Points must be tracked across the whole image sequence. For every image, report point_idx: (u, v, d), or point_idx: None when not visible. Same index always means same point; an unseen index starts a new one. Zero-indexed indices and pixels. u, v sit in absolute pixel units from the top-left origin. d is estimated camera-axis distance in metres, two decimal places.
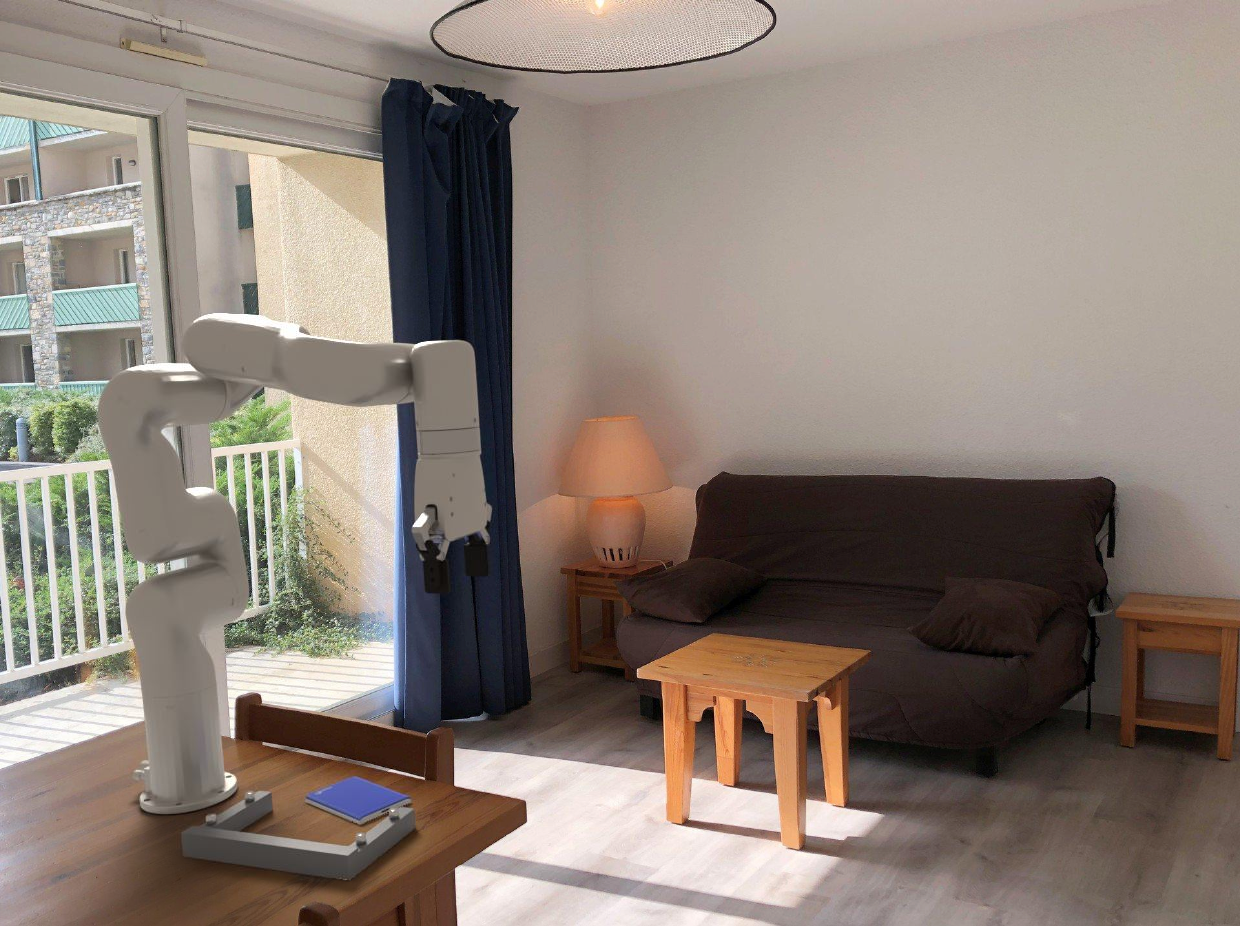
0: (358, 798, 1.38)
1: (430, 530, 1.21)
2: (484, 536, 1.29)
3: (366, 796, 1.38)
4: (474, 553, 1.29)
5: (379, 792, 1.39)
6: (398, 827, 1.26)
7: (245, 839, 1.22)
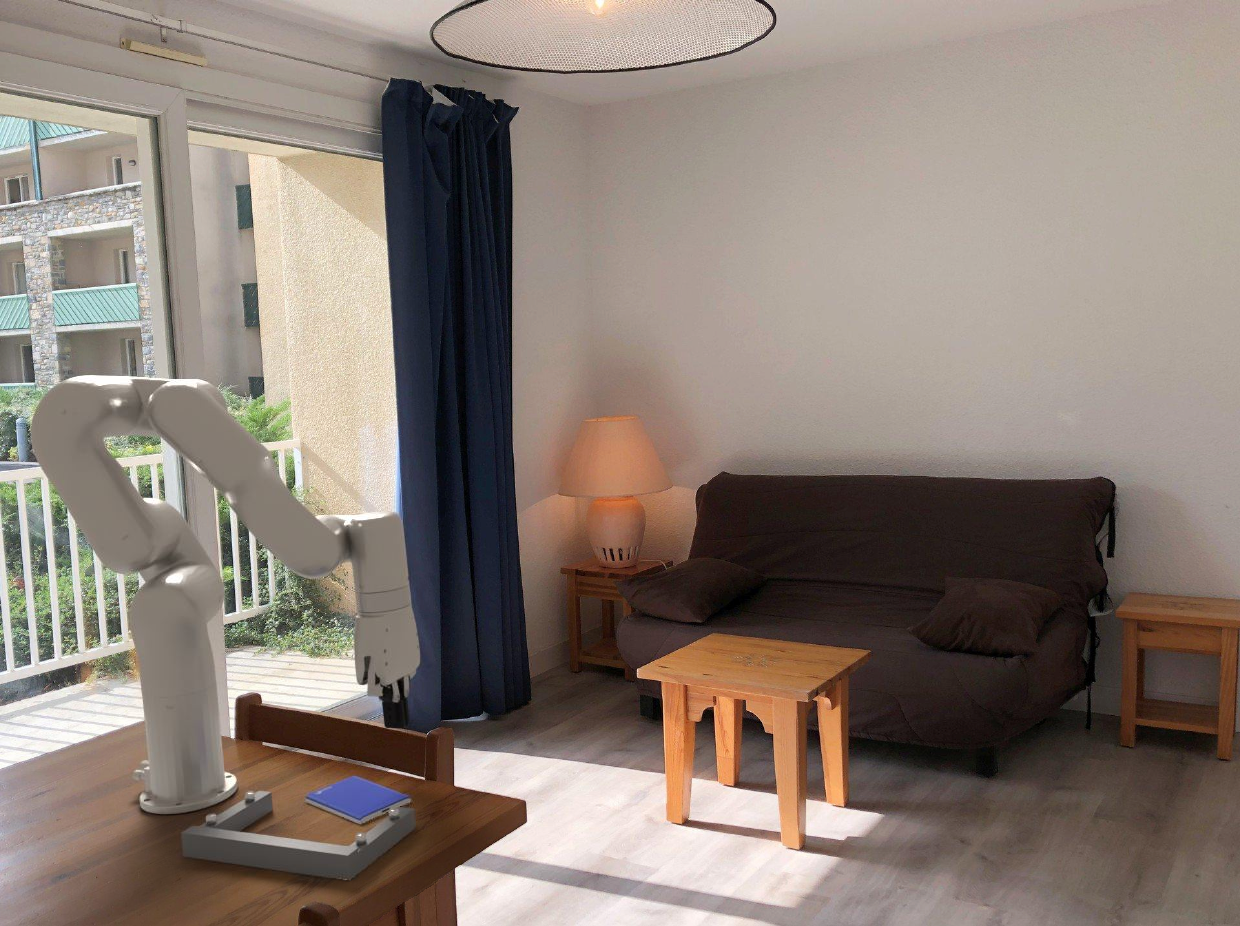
0: (358, 798, 1.38)
1: None
2: (405, 686, 1.47)
3: (366, 796, 1.38)
4: None
5: (379, 792, 1.39)
6: (398, 827, 1.26)
7: (245, 839, 1.22)
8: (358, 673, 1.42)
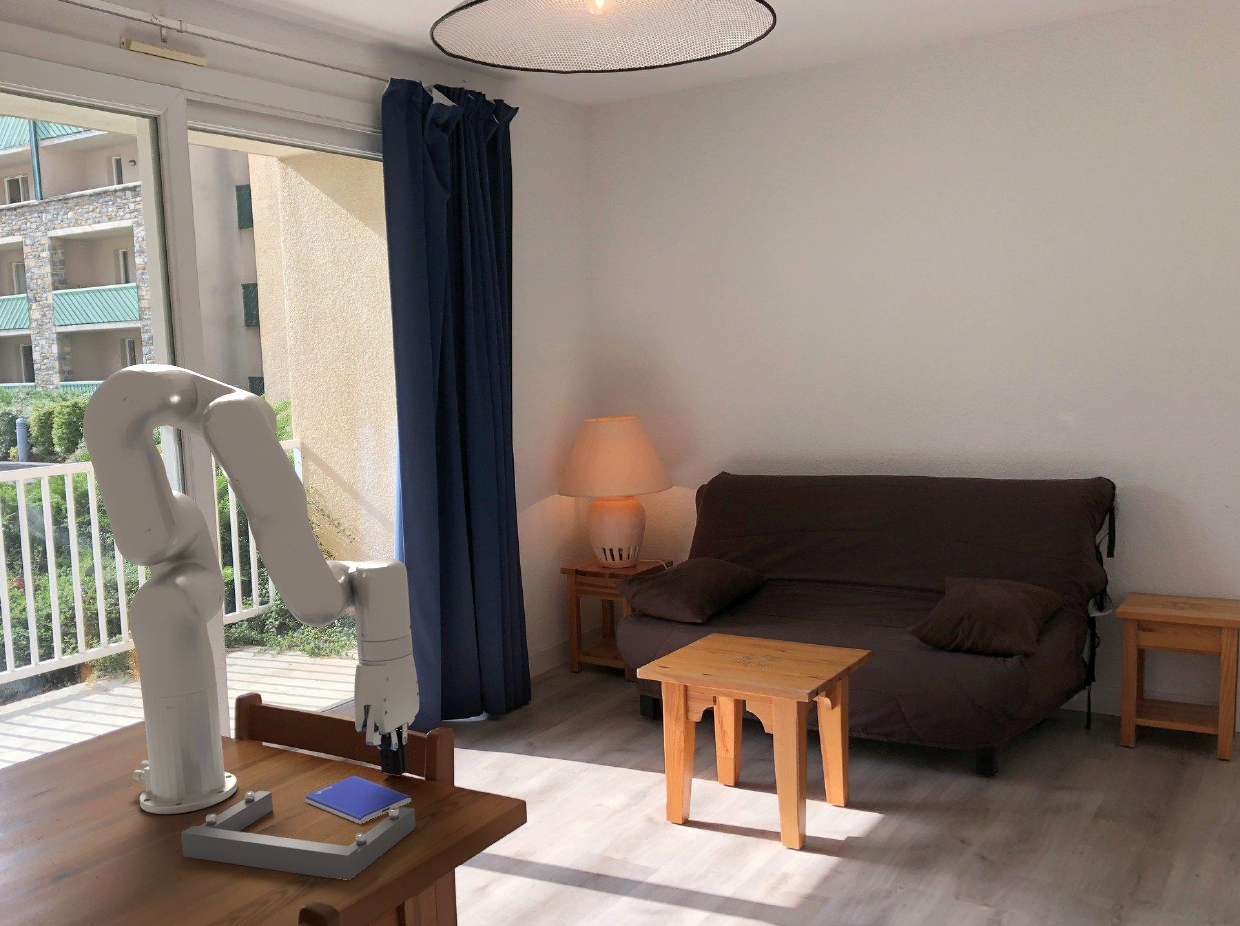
0: (358, 798, 1.38)
1: None
2: (403, 734, 1.47)
3: (367, 796, 1.38)
4: None
5: (379, 791, 1.39)
6: (398, 827, 1.26)
7: (245, 839, 1.22)
8: (357, 721, 1.42)
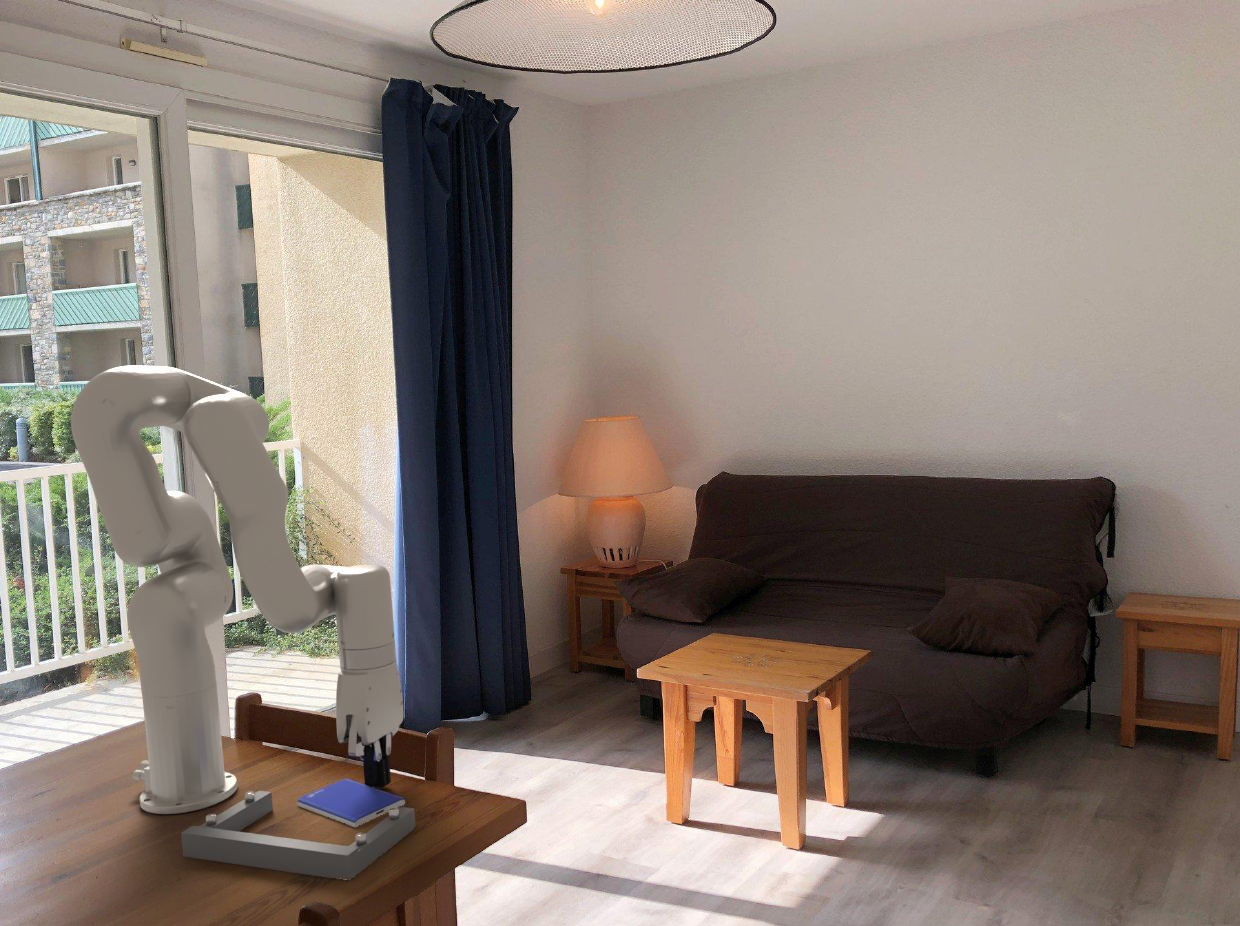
0: (351, 800, 1.37)
1: None
2: (387, 744, 1.43)
3: (360, 798, 1.37)
4: None
5: (372, 794, 1.39)
6: (398, 827, 1.26)
7: (245, 839, 1.22)
8: (339, 731, 1.38)
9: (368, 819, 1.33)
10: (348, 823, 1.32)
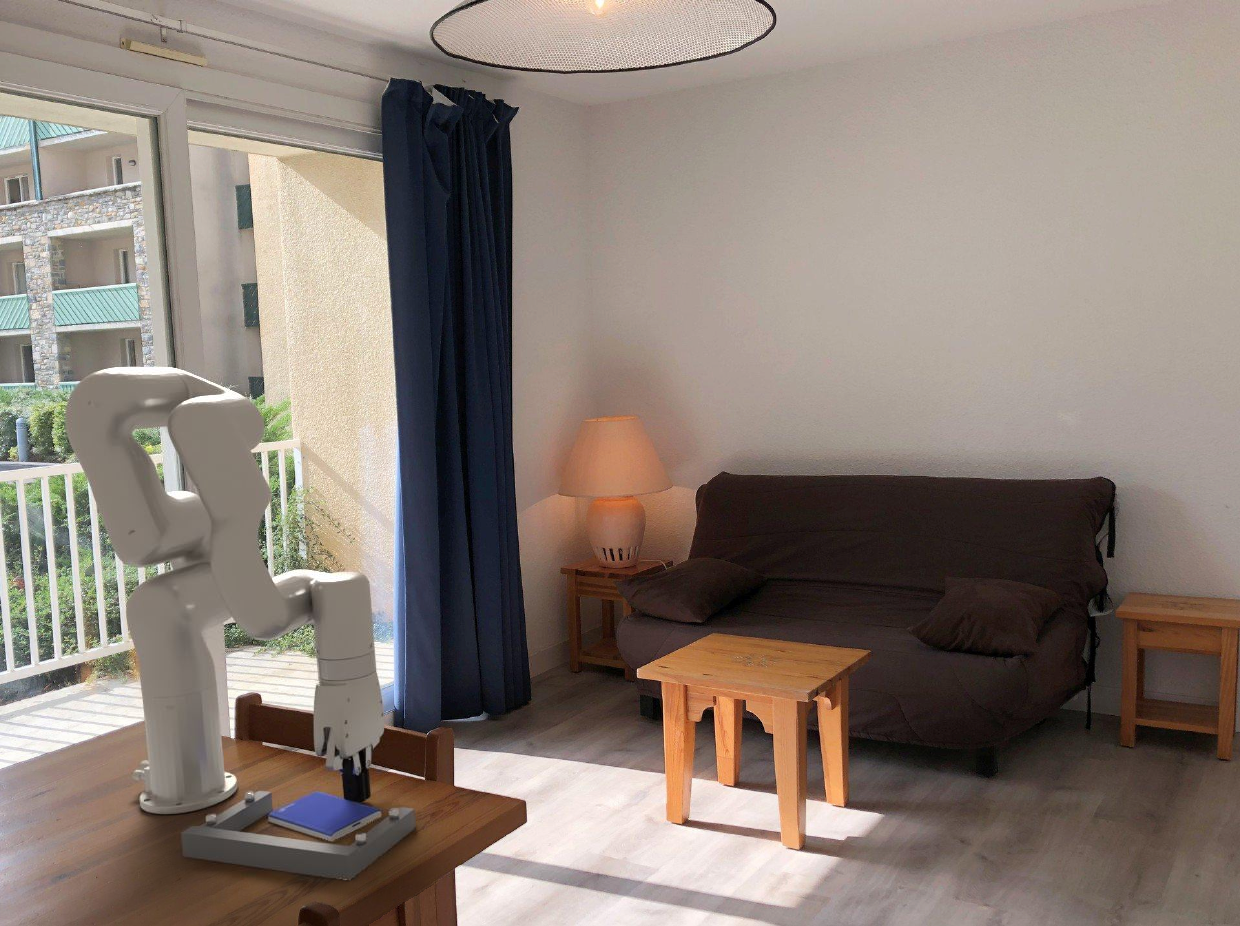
0: (325, 813, 1.33)
1: None
2: (367, 757, 1.39)
3: (334, 811, 1.33)
4: None
5: (347, 806, 1.35)
6: (398, 827, 1.26)
7: (245, 839, 1.22)
8: (317, 744, 1.34)
9: (344, 832, 1.29)
10: (324, 837, 1.28)
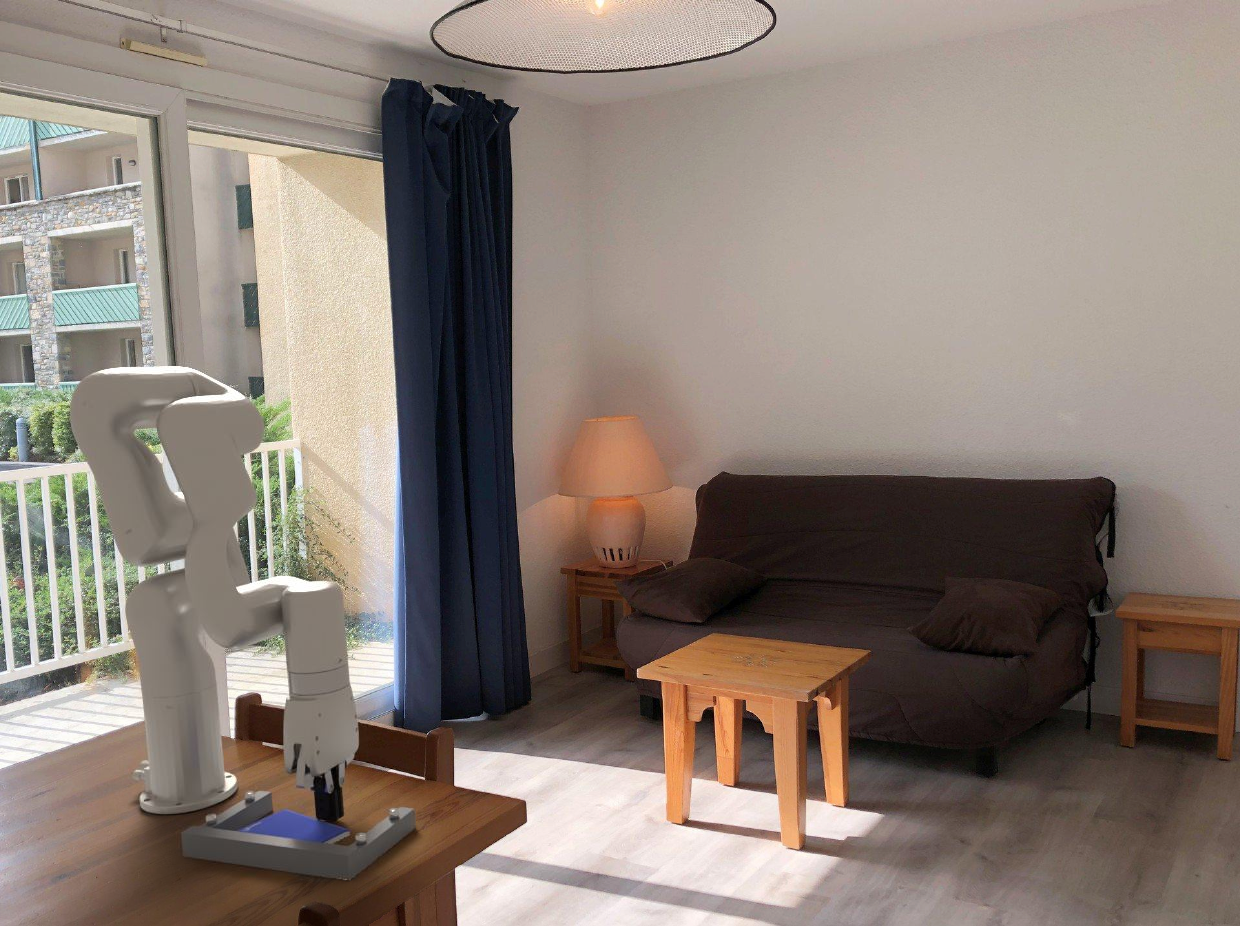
0: (292, 833, 1.28)
1: None
2: (340, 774, 1.33)
3: (301, 831, 1.29)
4: None
5: (314, 826, 1.30)
6: (398, 827, 1.26)
7: (245, 839, 1.22)
8: (287, 761, 1.28)
9: None
10: None
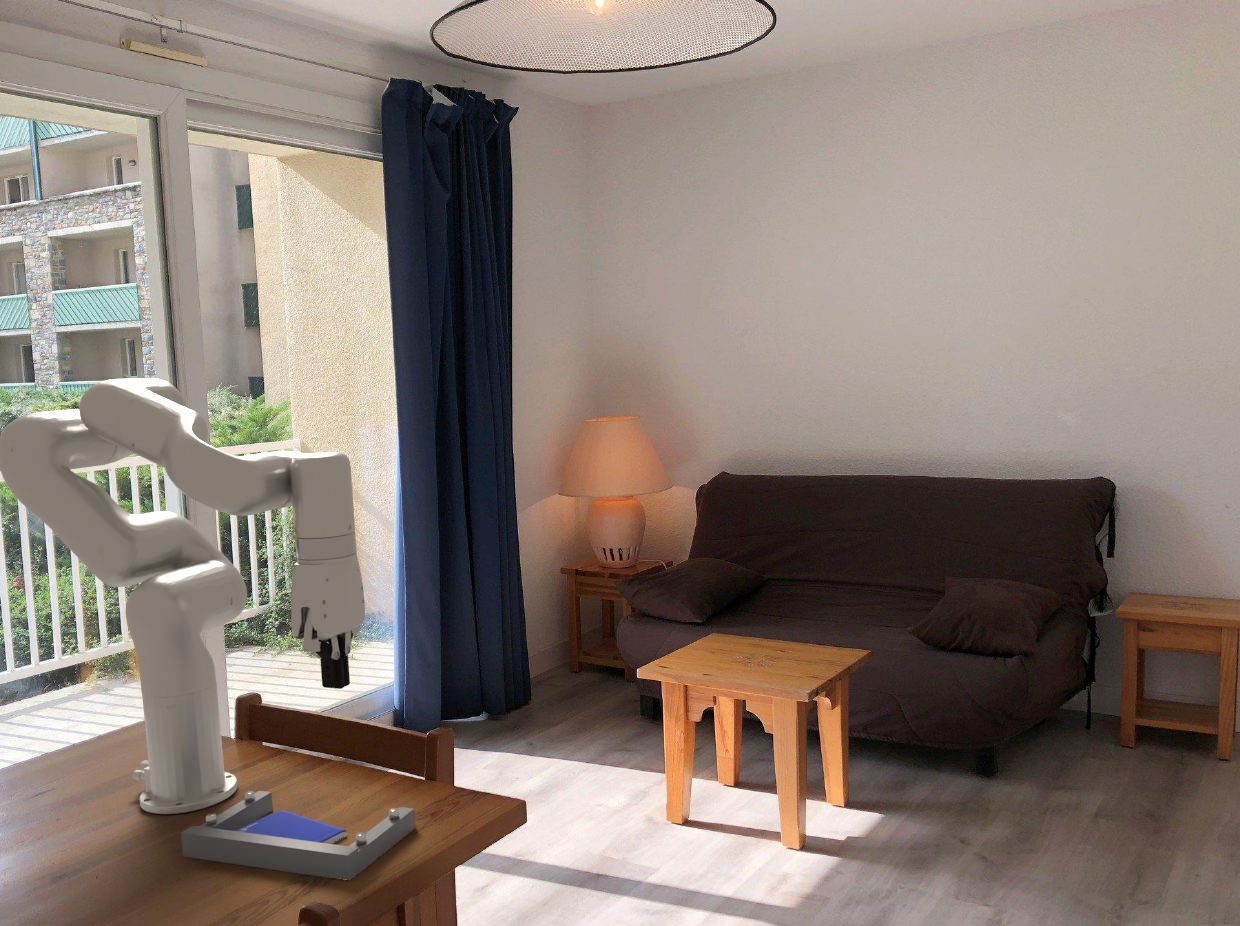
0: (288, 834, 1.28)
1: None
2: (346, 643, 1.35)
3: (298, 831, 1.28)
4: None
5: (311, 826, 1.30)
6: (398, 827, 1.26)
7: (245, 839, 1.22)
8: (294, 625, 1.30)
9: None
10: None
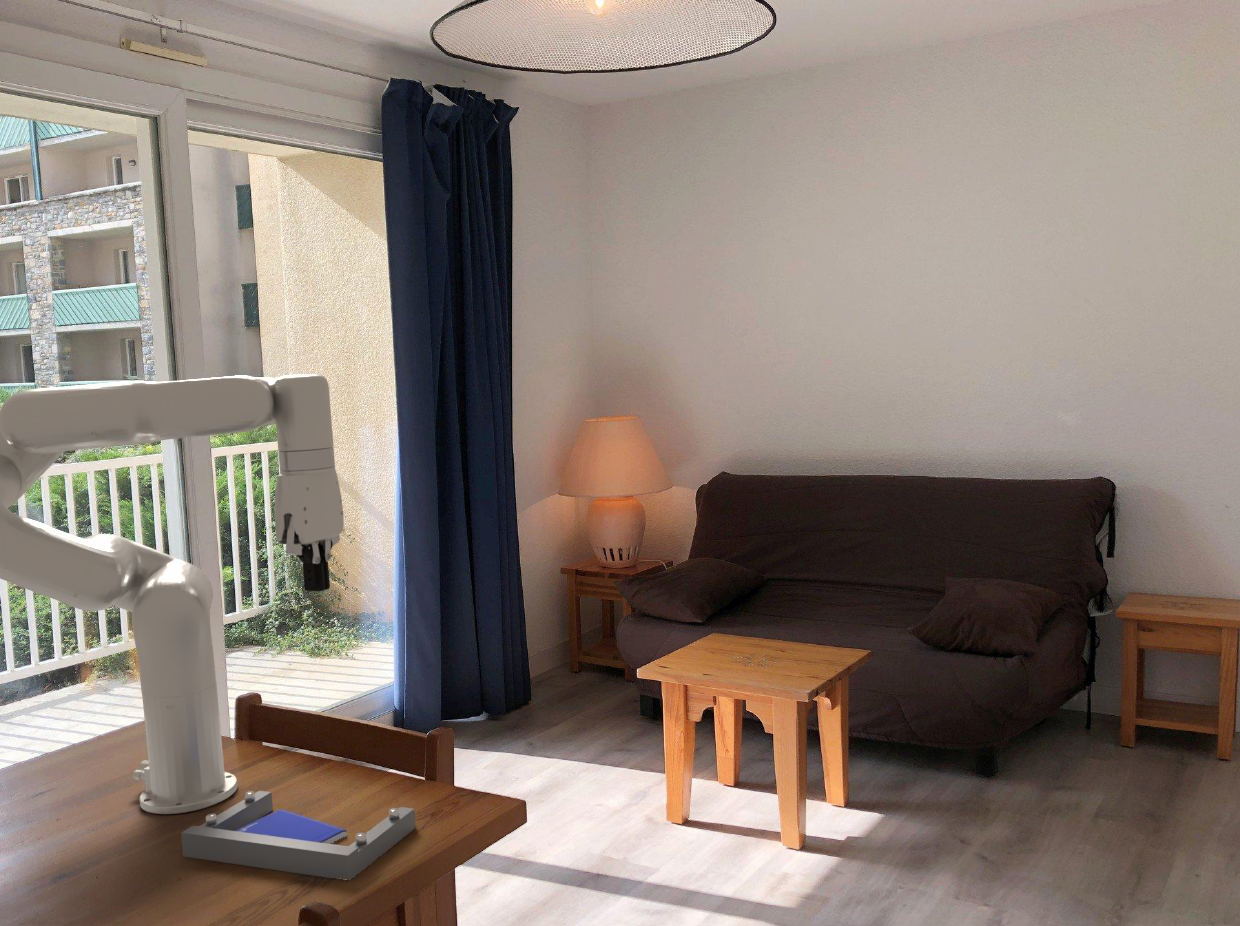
0: (288, 834, 1.28)
1: None
2: (326, 550, 1.47)
3: (297, 831, 1.28)
4: None
5: (311, 826, 1.30)
6: (398, 827, 1.26)
7: (245, 839, 1.22)
8: (278, 531, 1.42)
9: None
10: None
